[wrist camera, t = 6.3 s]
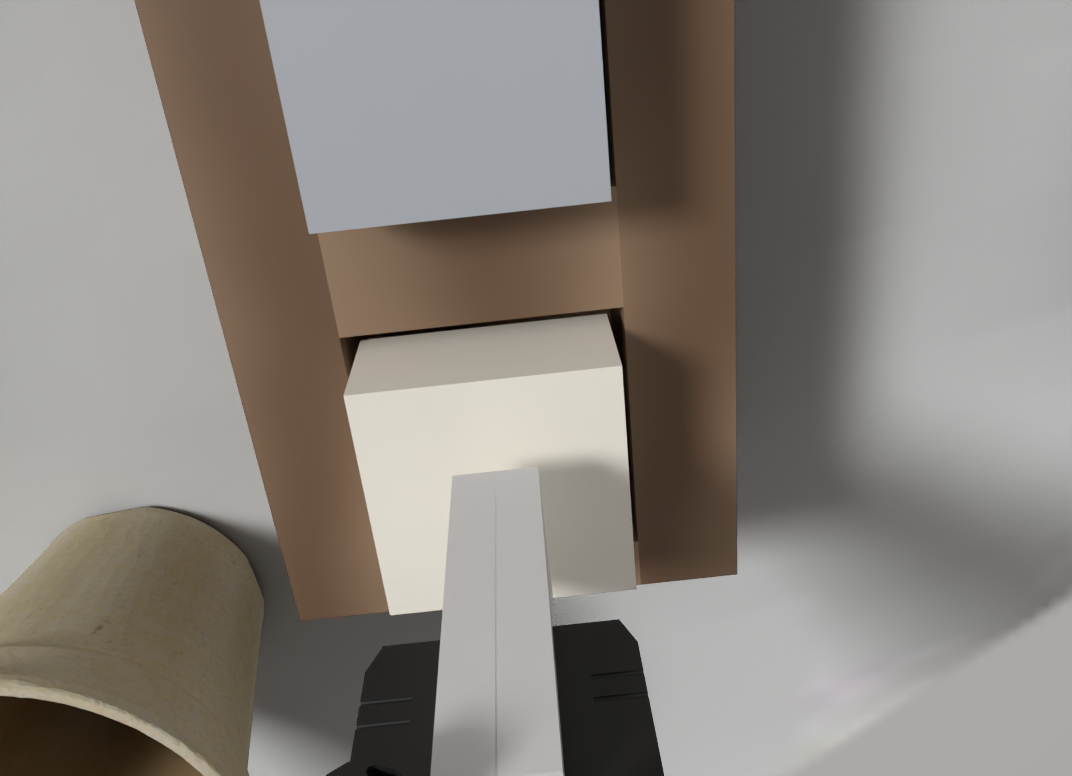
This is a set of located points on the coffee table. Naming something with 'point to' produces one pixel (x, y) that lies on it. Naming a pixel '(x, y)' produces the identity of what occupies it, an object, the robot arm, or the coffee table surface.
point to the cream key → (494, 446)
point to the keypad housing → (472, 282)
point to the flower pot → (130, 652)
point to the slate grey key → (440, 107)
